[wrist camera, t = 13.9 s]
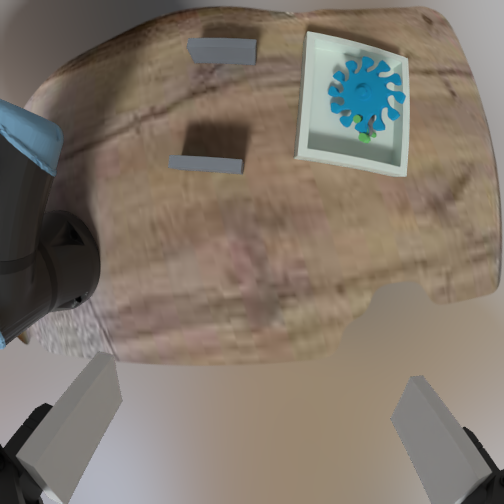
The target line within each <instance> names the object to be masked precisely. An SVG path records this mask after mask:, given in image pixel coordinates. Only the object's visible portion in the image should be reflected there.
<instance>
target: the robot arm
mask: <svg viewBox="0 0 504 504" xmlns="http://www.w3.org/2000/svg"><path fill="white" fill-rule="evenodd" d="M63 142H64V135H63V132H62V130H61V128H60V127H59V126H58V125H57V124H55V123H54V122H51V121H49V120H47V119H45V118H43V117H41V116H38V115H36V114H34V113H32V112H29V111H27V110H25V109H23V108H21V107H18V106H16V105H13V104H11V103H9V102H7V101H4V100H2V99H0V349H4V347H5V346H6V345H7V344H8V343H9V342H11V341H12V340H13V339H14V338H16V337H17V336H18V335H20V334H21V333H22V332H23V331H25V330H26V329H27V328H29V327H30V326H31V325H33V324H34V323H35V322H37V321H38V320H39V319H41V318H42V317H44V316H45V315H46V314H48V313H49V312H56V311H63V310H70V309H73V308H76V307H78V306H80V305H81V304H82V303H84V302H85V301H86V300H88V299H89V298H90V297H91V296H92V294H93V293H94V291H95V289H96V287H97V284H98V281H99V275H100V261H99V255H98V250H97V247H96V244H95V241H94V239H93V237H92V235H91V233H90V231H89V230H88V228H87V227H86V226H85V225H84V223H83V222H82V221H81V220H80V219H78V218H77V217H76V216H74V215H73V214H71V213H68V212H65V211H52V212H47V213H44V212H45V208H46V204H47V200H48V196H49V192H50V189H51V185H52V182H53V179H54V176H56V174H57V171H56V168H57V164H58V160H59V156H60V153H61V149H62V146H63ZM121 403H122V397H121V391H120V387H119V381H118V376H117V371H116V364H115V358H114V355H112V354H108V353H104V352H100V351H99V352H98V353H97V354H96V355H95V357H94V358H93V359H92V360H91V361H90V362H89V364H88V365H87V366H86V367H85V368H84V370H83V371H82V372H81V373H80V374H79V375H78V377H77V378H76V379H75V381H73V383H72V384H71V385H70V387H68V389H67V390H66V391H65V392H64V394H63V395H62V396H61V397H60V399H59V400H58V401H57V402H56V404H55V405H54V406H51V405H49V404H47V403H45V404H43V405H41V406H39V407H37V408H35V410H34V411H33V412H32V413H31V414H30V416H29V418H28V419H26V420H25V422H24V423H23V425H21V427H20V428H19V429H18V430H17V431H16V433H15V434H14V435H13V436H12V438H11V439H10V440H9V442H8V443H7V444H6V446H5V447H4V448H2V446H1V444H0V504H43V501H42V499H41V497H40V495H41V493H42V491H43V492H44V493H45V494H46V495H47V496H48V497H49V498H50V499H52V500H54V501H56V502H58V503H59V504H68V502H69V500H70V499H71V496H72V495H73V493H74V491H75V489H76V487H77V485H78V483H79V481H80V479H81V477H82V475H83V473H84V471H85V469H86V467H87V465H88V463H89V461H90V459H91V458H92V455H93V454H94V452H95V450H96V448H97V446H98V444H99V443H100V441H101V439H102V437H103V435H104V433H105V432H106V430H107V428H108V426H109V424H110V422H111V420H112V419H113V417H114V415H115V413H116V412H117V410H118V408H119V406H120V404H121ZM390 419H391V421H392V423H393V425H394V427H395V429H396V431H397V433H398V435H399V437H400V439H401V441H402V443H403V445H404V447H405V449H406V451H407V453H408V455H409V457H410V459H411V461H412V463H413V465H414V467H415V469H416V471H417V474H418V476H419V478H420V480H421V482H422V484H423V486H424V489H425V491H426V493H427V495H428V497H429V499H430V502H431V504H504V469H503V470H501V471H500V470H499V469H498V468H497V466H496V464H495V463H494V462H493V460H492V459H491V458H490V456H489V454H488V453H487V451H486V450H485V449H484V448H483V446H482V444H481V443H480V442H478V441H479V440H478V439H477V437H476V436H475V435H474V434H473V432H471V431H470V430H469V429H467V428H466V427H463V428H462V427H461V426H460V424H459V423H458V422H457V420H456V419H455V417H454V416H453V415H452V413H451V412H450V411H449V409H448V408H447V407H446V405H445V404H444V403H443V401H442V400H441V399H440V397H439V396H438V395H437V393H436V392H435V391H434V389H433V388H432V387H431V385H430V384H429V383H428V382H427V380H426V379H425V378H424V376H413V377H410V378H409V381H408V383H407V385H406V387H405V390H404V392H403V394H402V396H401V398H400V400H399V403H398V404H397V406H396V408H395V410H394V412H393V415H392V416H391V418H390Z"/></svg>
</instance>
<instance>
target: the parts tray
mask: <svg viewBox="0 0 504 504" xmlns="http://www.w3.org/2000/svg"><path fill="white" fill-rule="evenodd" d="M364 56H366V57H369V58H371V59H372V60H373V61H374V65H373V66H371V67H369V68H368V69H367V72H370V71H372V70H374V69H375V68H376V67H377V66H378V64H379V62H380V61H382V60H383V61H385V62H386V63H387V64H388V65H389V67H390V68H391V70H390V71H389V72H380V73H379V77H388V76H391V75H392V74H394V73H397V74H399V75H400V77H401V80H402V85H400V86H397V85H395V84H394V83H392V82H389V83H387V88H388V89H390V90H392V91H401V92H403V93H404V94H405V95H406V98H405V101H404V103H403V104H400V103H398V102H397V101H396V100H395V98H394V96H393V95H391V96H389V97H388V102H389V104H390V106H391V107H392V108H393V109H395V110H397V111H398V112H399V114H400V117H399V118H398V119H396V120H394V121H392V120H391V119H390V118H389V117H388V115H387V112H388V108H383V109H382V121H383V123H384V124H385V130H383V131H376V130H375V129H373V132H375V133H376V134H377V136H376V137H375V138H373V137H370V138H371V141H370V142H369V143H364V142H362V141H360V140H359V138H358V136H359V131H357V130H356V129H355V125H356V124H357V123H355V122H354V121H353V122H352V123H351V125H350V126H349V127H344V126H343V125H342V124H341V122H340V120H339V119H340V117H342V116H350V115H351V110H343V111H341V112H340V113H338V114H335V113H333V112H331V103H337V104H339V105H343V104H344V99H343V98H342V97H332V96H330V95H329V94H328V90H329V88H330V87H331V86H334V87H335V88H337V89H338V90H339V92H340V93H341V92H343V90H344V88H343V86H342V84H341V82H339V81H337V80H336V79H334V78H333V75H334V74H335V73H336V72H337V71H341V72H342V73H344V75H345V81H347V80H348V79H349V70H348V68H347V67H346V65H345V63H346V62H347V61H351V60H353V61H355V62H356V63H357V65H358V67H357V69H356V70H355V74H356V73H358V72H359V70H360V69H361V67H362V58H363V57H364ZM361 117H362V116H361ZM409 118H410V98H409V70H408V58H405V57H402V56H400V55H397V54H394V53H391V52H388V51H385V50H382V49H379V48H376V47H372V46H369V45H366V44H362V43H358V42H355V41H351V40H347V39H343V38H338V37H334V36H329V35H325V34H320V33H314V32H309V31H307V34H306V37H305V39H304V42H303V54H302V68H301V82H300V94H299V106H298V117H297V128H296V139H295V149H294V159H299V160H306V161H313V162H320V163H326V164H332V165H338V166H343V167H349V168H354V169H359V170H364V171H369V172H374V173H379V174H383V175H388V176H392V177H406V175H407V162H408V147H409ZM375 120H376V115H375Z"/></svg>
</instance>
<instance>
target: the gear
mask: <svg viewBox="0 0 504 504" xmlns="http://www.w3.org/2000/svg"><path fill="white" fill-rule="evenodd" d="M345 65H346V67H347V68H348V70H349V79H348V80H347V81H345V75H344V73H342V72H341V71H337V72H336V73H335V74H334V75H333V78H334V79H336V80H337V81H339V82H341V84H342V86H343V88H344V90H343V92H341V93H340V92H339V90H338V89H337V88H335V87H334V86H331V87H330V88H329V90H328V94H329V95H330V96H332V97H342V98H343V99H344V104H343V105H339V104H337V103H331V112H333V113H335V114H338V113H340V112H341V111H343V110H351V115H350V116H342V117H340V119H339V120H340V122H341V124H342V125H343V126H344V127H349V126H350V125H351V123H352V122H353V121H354V122H355V123H357V124H356V125H355V129H356V130H357V131H359V136H358V138H359V140H360V141H362V142H364V143H369V142H370V141H371V138H370V137H373V138H375V137H376V136H377V134H376V133H375V132H373V129H375V130H376V131H383V130H385V124H384V123H383V121H382V109H383V108H388V112H387V115H388V117H389V118H390V119H391V120H392V121H394V120H396V119H398V118H399V117H400V114H399V112H398V111H397V110H395V109H393V108H392V107H391V106H390V104H389V102H388V97H389V96H391V95H393V96H394V98H395V100H396V101H397V102H398V103H400V104H403V103H404V101H405V98H406V95H405V94H404V93H403V92H401V91H392V90H390V89H388V88H387V83H389V82H392V83H394V84H395V85H397V86H400V85H402V80H401V77H400V75H399V74H397V73H394V74H392V75H391V76H388V77H379V73H380V72H389V71H390V70H391V68H390V67H389V65H388V64H387V63H386V62H385V61H383V60H382V61H380V62H379V64H378V66H377V67H376V68H375V69H374V70H372V71H370V72H367V69H368V68H369V67H371V66H373V65H374V61H373V60H372V59H371V58H369V57H366V56H364V57H363V58H362V67H361V69H360V70H359V72H358V73H356V74H355V70H356V69H357V67H358V65H357V63H356V62H355V61H353V60H351V61H347V62H346V63H345ZM375 115H376V120H375ZM361 116H362V117H361Z"/></svg>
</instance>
